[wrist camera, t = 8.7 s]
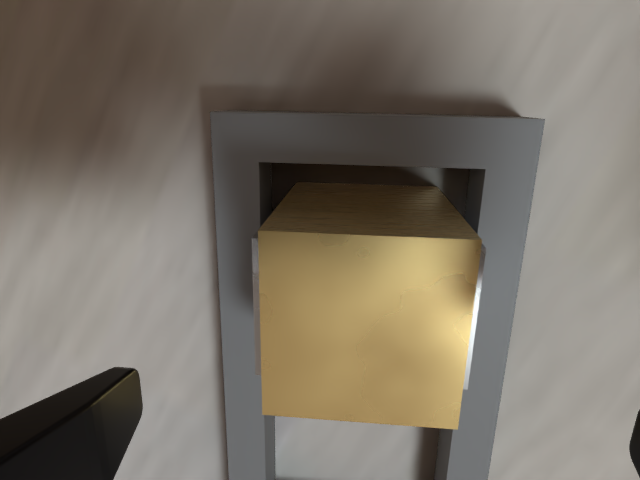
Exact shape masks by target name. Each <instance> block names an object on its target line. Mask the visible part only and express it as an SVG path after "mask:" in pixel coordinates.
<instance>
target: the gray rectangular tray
mask: <svg viewBox="0 0 640 480" xmlns="http://www.w3.org/2000/svg"><path fill="white" fill-rule="evenodd" d="M210 121H211V140H212V160H213V179H214V199H215V218H216V238H217V257H218V277H219V296H220V316H221V336H222V355H223V375H224V394H225V414H226V433H227V453H228V472H229V480H275V416H273V415H262V381H261V375H255V343H254V307H253V272H252V237H253V236H254V234H255V233H256V232H257V231H258V230H259V228H260V227H261V226H262V225H263V223H264V222H265V221H266V220H267V218H268V217H269V216H270V215H271V213H272V187H271V162H273V163H305V164H338V165H370V166H403V167H435V168H467V169H470V173H469V181H468V190H467V199H466V207H465V216H464V219H465V220H466V222H467V223H468V224H469V225H470V226H471V227H472V229H473V230H474V231H475V232H476V233H477V235H478V236H479V237H480V238H481V239H482V244H483V245H484V246H485V247H486V255H485V262H484V270H483V277H482V285H481V292H480V300H479V307H478V315H477V323H476V330H475V338H474V345H473V353H472V360H471V368H470V375H469V383H468V390H466V389H463V393H462V401H461V408H460V416H459V424H458V430H456V429H443V428H440V432H439V441H438V449H437V458H436V467H435V475H434V480H488V474H489V468H490V461H491V455H492V449H493V442H494V436H495V430H496V424H497V417H498V411H499V405H500V398H501V392H502V386H503V380H504V373H505V367H506V361H507V355H508V348H509V342H510V336H511V329H512V323H513V317H514V311H515V304H516V298H517V292H518V285H519V279H520V273H521V267H522V260H523V254H524V248H525V241H526V235H527V229H528V223H529V216H530V210H531V204H532V198H533V191H534V185H535V179H536V172H537V166H538V160H539V154H540V147H541V141H542V135H543V128H544V122H545V119H539V118H529V117H510V116H463V115H417V114H371V113H324V112H278V111H232V110H227V111H214V112H210Z"/></svg>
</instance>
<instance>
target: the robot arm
mask: <svg viewBox="0 0 640 480" xmlns="http://www.w3.org/2000/svg"><path fill="white" fill-rule="evenodd" d="M142 409H143V404H142V395H141V386H140V378H139V373H138V371H137V370H136V369H134V368H124V367H114V368H111V369H109V370H107V371H105V372H102V373H100V374H98V375H96V376H94V377H91V378H89V379H87V380H85V381H83V382H81V383H78V384H76V385H74V386H72V387H70V388H67V389H65V390H63V391H61V392H59V393H56V394H54V395H52V396H50V397H48V398H45V399H43V400H41V401H39V402H37V403H35V404H32V405H30V406H28V407H26V408H24V409H21V410H19V411H17V412H15V413H13V414H10V415H8V416H6V417H4V418H2V419H0V480H113V479H114V477H115V474H116V472H117V470H118V468H119V466H120V463H121V461H122V459H123V457H124V454H125V452H126V450H127V448H128V445H129V443H130V441H131V439H132V436H133V434H134V432H135V430H136V427H137V425H138V423H139V421H140V418H141V415H142ZM629 450H630V456H631V459H632V462H633V464H634V466H635V468H636V470H637V473H638V475H639V477H640V410H639V412H638V415H637V418H636V422H635V426H634V429H633V433H632V437H631V441H630V448H629Z"/></svg>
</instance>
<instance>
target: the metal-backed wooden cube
mask: <svg viewBox="0 0 640 480" xmlns="http://www.w3.org/2000/svg"><path fill="white" fill-rule="evenodd" d="M485 255H486V247H485V246H484V245H483V244H482V239H481V238H480V237H479V236H478V235H477V233H476V232H475V231H474V230H473V229H472V227H471V226H470V225H469V224H468V223H467V222H466V220H465V219H464V218H463V217H462V216H461V215H460V213H459V212H458V211H457V210H456V209H455V207H454V206H453V205H452V204H451V203H450V202H449V200H448V199H447V198H446V197H445V196H444V194H443V193H442V192H441V191H440V190H439V189H438V187H432V186H402V185H373V184H343V183H313V182H297V183H296V184H295V185H294V187H293V188H292V189H291V190H290V191H289V193H288V194H287V195H286V196H285V198H284V199H283V200H282V201H281V202H280V204H279V205H278V206H277V207H276V209H275V210H274V211H273V212H272V213H271V215H270V216H269V217H268V218H267V220H266V221H265V222H264V223H263V225H262V226H261V227H260V228H259V230H258V231H257V232H256V233H255V234H254V236H253V237H252V272H253V307H254V343H255V375H261V381H262V415H273V416H286V417H299V418H312V419H325V420H338V421H351V422H365V423H378V424H391V425H404V426H417V427H430V428H443V429H456V430H458V424H459V416H460V408H461V401H462V393H463V389H466V390H468V383H469V375H470V368H471V360H472V353H473V345H474V338H475V330H476V323H477V315H478V307H479V300H480V292H481V285H482V277H483V270H484V262H485Z"/></svg>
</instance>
